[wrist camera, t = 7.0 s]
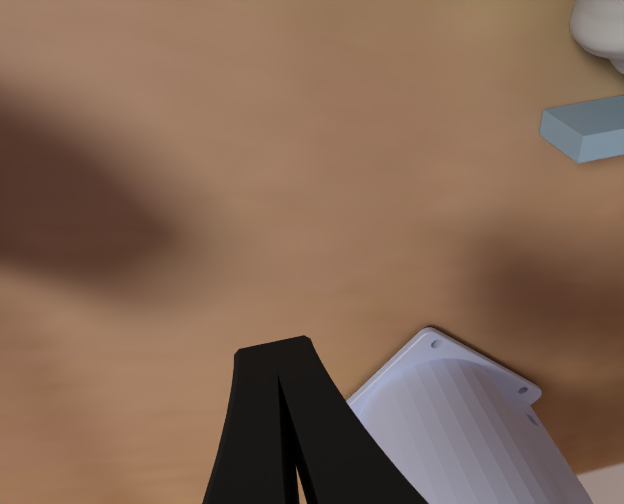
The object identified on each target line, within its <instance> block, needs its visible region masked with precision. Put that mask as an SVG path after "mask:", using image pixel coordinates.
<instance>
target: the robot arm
mask: <svg viewBox="0 0 624 504" xmlns="http://www.w3.org/2000/svg"><path fill="white" fill-rule="evenodd" d="M435 340H437V341H435ZM434 341H435V342H434ZM541 394H542V391H541V390H540V388H539V387H538V386H537V385H536V384H534V383H532V382H530V381H528V380H527V379H525V378H523V377H521V376H519V375H518V374H516V373H514V372H512V371H510V370H508V369H507V368H505V367H503V366H501V365H499V364H498V363H496V362H494V361H492V360H490V359H489V358H487V357H485V356H483V355H481V354H480V353H478V352H476V351H474V350H472V349H471V348H469V347H467V346H465V345H463V344H462V343H460V342H458V341H456V340H454V339H453V338H451V337H449V336H447V335H445V334H444V333H442V332H440V331H438V330H436V329H435V328H432V327H427V328H424V329H422V330H421V331H419V332H418V333H417V334H416V335H415V336H414V337H413V338H412V339H411V340H410V341H409V342H408V343H407V344H406V345H405V346H404V347H403V348H401V349H400V350H399V351H398V352H397V353H396V354H395V355H394V356H393V357H392V358H391V359H390V360H389V361H388V362H387V363H386V364H385V365H384V366H383V367H382V368H381V369H379V370H378V371H377V372H376V373H375V374H374V375H373V376H372V377H371V378H370V379H369V380H368V381H367V382H366V383H365V384H364V385H363V386H362V387H361V388H360V389H358V390H357V391H356V392H355V393H354V394H353V395H352V396H351V397H350V398H349V399H348V400H347V401H345V399H344V398H343V396H342V395H341V393H340V392H339V390H338V389H337V387H336V386H335V384H334V382H333V381H332V379H331V378H330V376H329V374H328V373H327V371H326V369H325V368H324V366H323V364H322V362H321V360H320V358H319V357H318V355H317V353H316V351H315V348H314V346H313V344H312V341H311V339H310V338H308V337H306V336H304V335H303V336H298V337H294V338H289V339H284V340H280V341H275V342H270V343H265V344H261V345H256V346H251V347H246V348H242V349H239V350H238V351H237V352H236V353H235V354H234V370H233V379H232V387H231V393H230V398H229V404H228V409H227V414H226V419H225V423H224V427H223V431H222V435H221V440H220V444H219V448H218V452H217V456H216V460H215V463H214V467H213V470H212V473H211V476H210V480H209V483H208V486H207V490H206V493H205V496H204V499H203V503H202V504H300V502H299V492H298V482H297V472H296V467H297V470H298V474H299V477H300V481H301V484H302V488H303V491H304V495H305V498H306V502H307V504H593V503H592V501H591V499H590V497H589V495H588V494H587V492H586V491H585V489H584V487H583V486H582V484H581V483H580V481H579V480H578V478H577V477H576V475H575V474H574V472H573V470H572V469H571V467H570V466H569V464H568V463H567V461H566V460H565V458H564V457H563V455H562V454H561V452H560V450H559V449H558V447H557V446H556V444H555V443H554V441H553V440H552V438H551V437H550V435H549V434H548V432H547V430H546V429H545V427H544V426H543V424H542V423H541V421H540V420H539V418H538V417H537V415H536V414H535V412H534V410H533V409H532V407H531V406H530V405H531V404H532V403H534V402H535V401H536V400H537V399H539V398H540V397H541Z"/></svg>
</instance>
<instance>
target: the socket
mask: <svg viewBox="0 0 624 504" xmlns="http://www.w3.org/2000/svg"><path fill="white" fill-rule="evenodd" d="M539 135H540V136H542V137H543V138H544V139H546V140H547V141H548V142H550V143H551V144H552V145H554V146H555V147H556V148H558V149H559V150H560V151H562V152H563V153H564V154H566V155H567V156H569V157H570V158H571V159H573V160H574V161H575V162H577V163H582V162H587V161H593V160H598V159H603V158H608V157H613V156H619V155H624V95H622V96H616V97H610V98H605V99H599V100H594V101H588V102H583V103H577V104H572V105H566V106H561V107H555V108H550V109H544V110H543V114H542V121H541V127H540V134H539Z"/></svg>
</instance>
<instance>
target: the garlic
mask: <svg viewBox="0 0 624 504" xmlns="http://www.w3.org/2000/svg"><path fill="white" fill-rule="evenodd" d="M569 29H570V32H571V35H572V36H573V38H574V39H575V40H576V41H577V42H578V44H579V45H580V46H581V47H582V48H583V49H584V50H585V51H587V52H588V53H590V54H593V55H595V56H599V57H603V58H608V59H609V60H610V61H611V63H612V65H613V66H614V68H615V69H616V70H617V71H618V72H620V73H621V74H623V75H624V0H575V3H574V7H573V10H572V13H571V16H570V21H569Z"/></svg>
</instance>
